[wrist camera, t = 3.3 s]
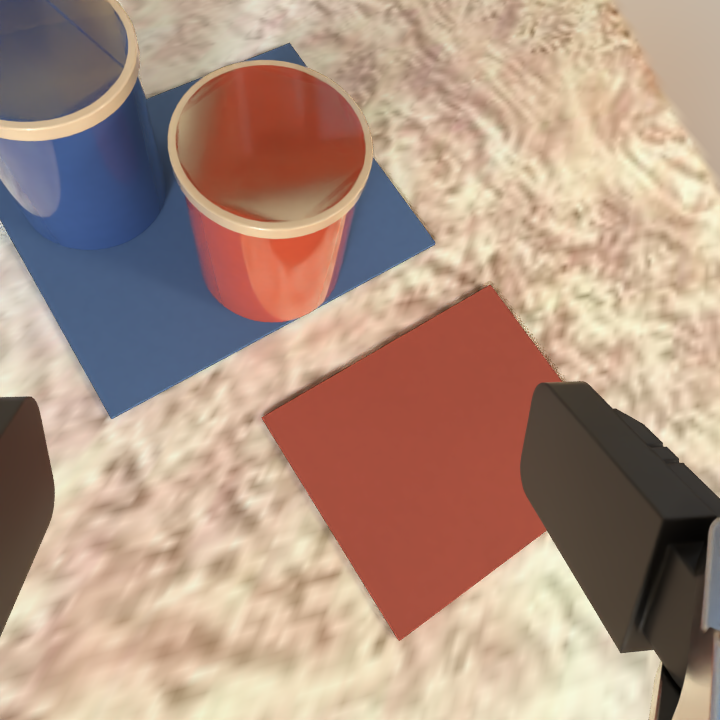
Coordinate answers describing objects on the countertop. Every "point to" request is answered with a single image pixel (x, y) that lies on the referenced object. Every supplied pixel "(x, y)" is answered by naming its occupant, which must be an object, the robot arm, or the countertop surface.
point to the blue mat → (181, 281)
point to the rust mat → (423, 456)
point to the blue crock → (77, 123)
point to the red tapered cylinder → (270, 183)
